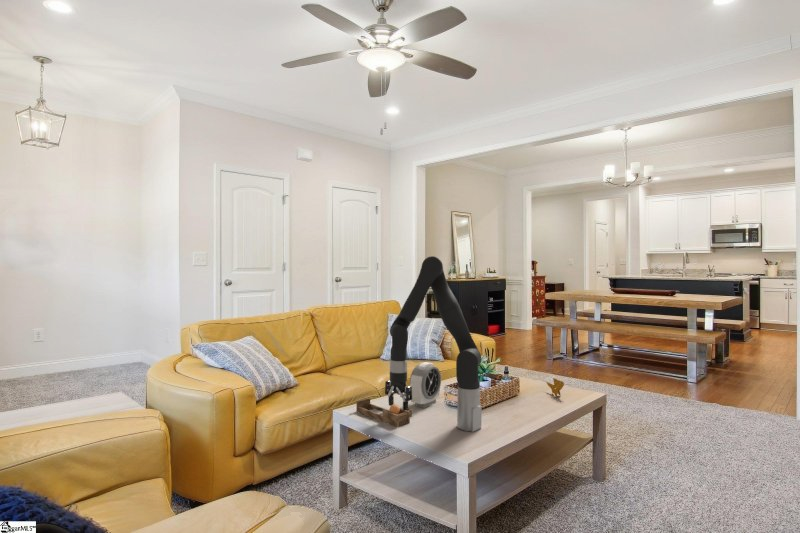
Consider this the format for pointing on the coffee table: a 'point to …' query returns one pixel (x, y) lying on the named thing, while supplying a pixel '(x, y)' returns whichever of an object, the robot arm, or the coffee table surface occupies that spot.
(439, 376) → the alarm clock
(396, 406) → the ball
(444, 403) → the coffee table surface
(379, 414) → the lane
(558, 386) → the toy
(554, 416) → the coffee table surface
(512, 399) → the coffee table surface
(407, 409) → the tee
